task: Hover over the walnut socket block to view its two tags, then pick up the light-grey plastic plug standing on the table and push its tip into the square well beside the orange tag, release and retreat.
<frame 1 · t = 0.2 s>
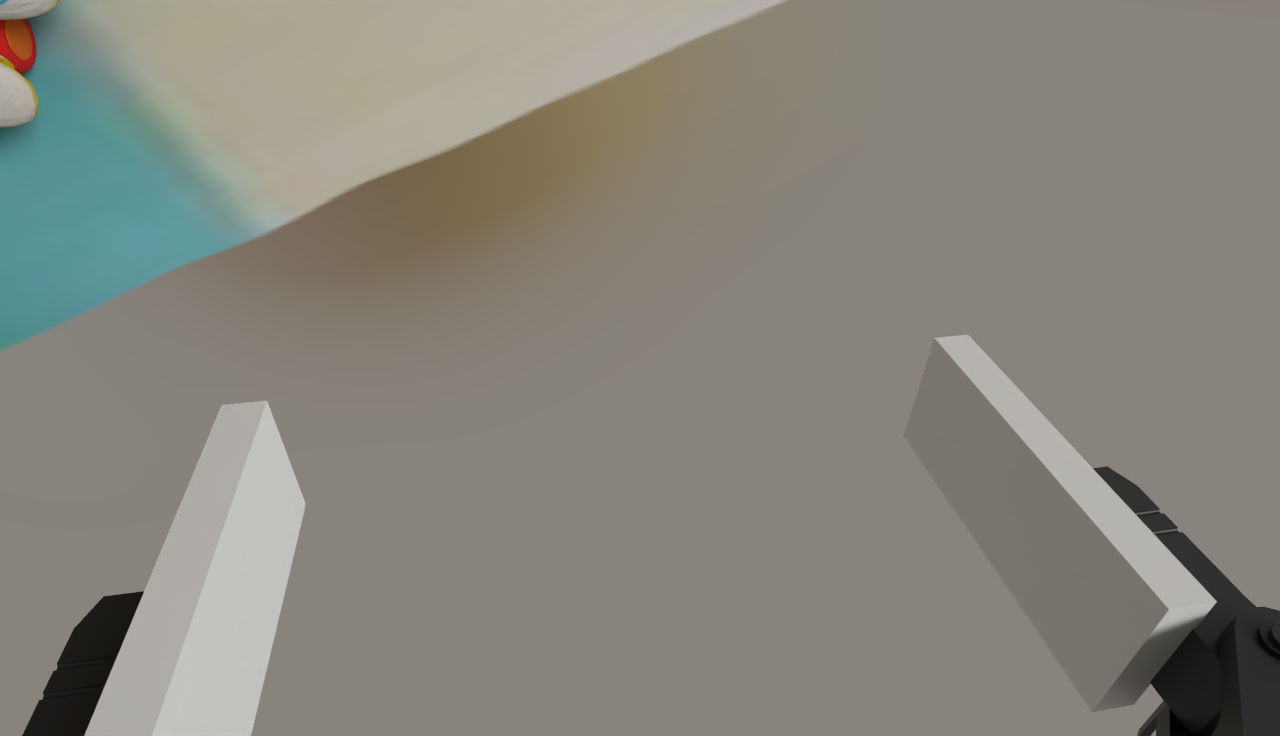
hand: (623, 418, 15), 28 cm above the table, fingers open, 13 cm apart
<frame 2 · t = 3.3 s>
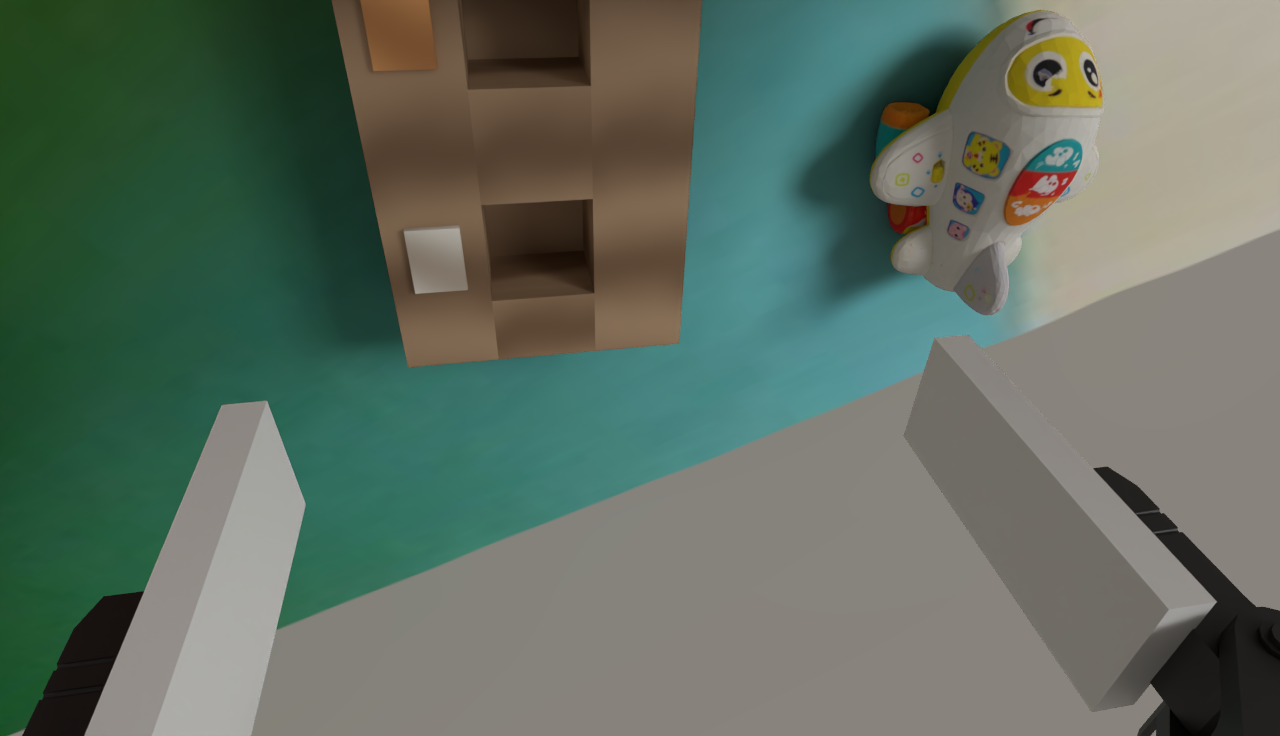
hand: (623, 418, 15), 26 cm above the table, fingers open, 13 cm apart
socket block: (525, 103, 36), on the table
toy airplane: (954, 139, 42), on the table
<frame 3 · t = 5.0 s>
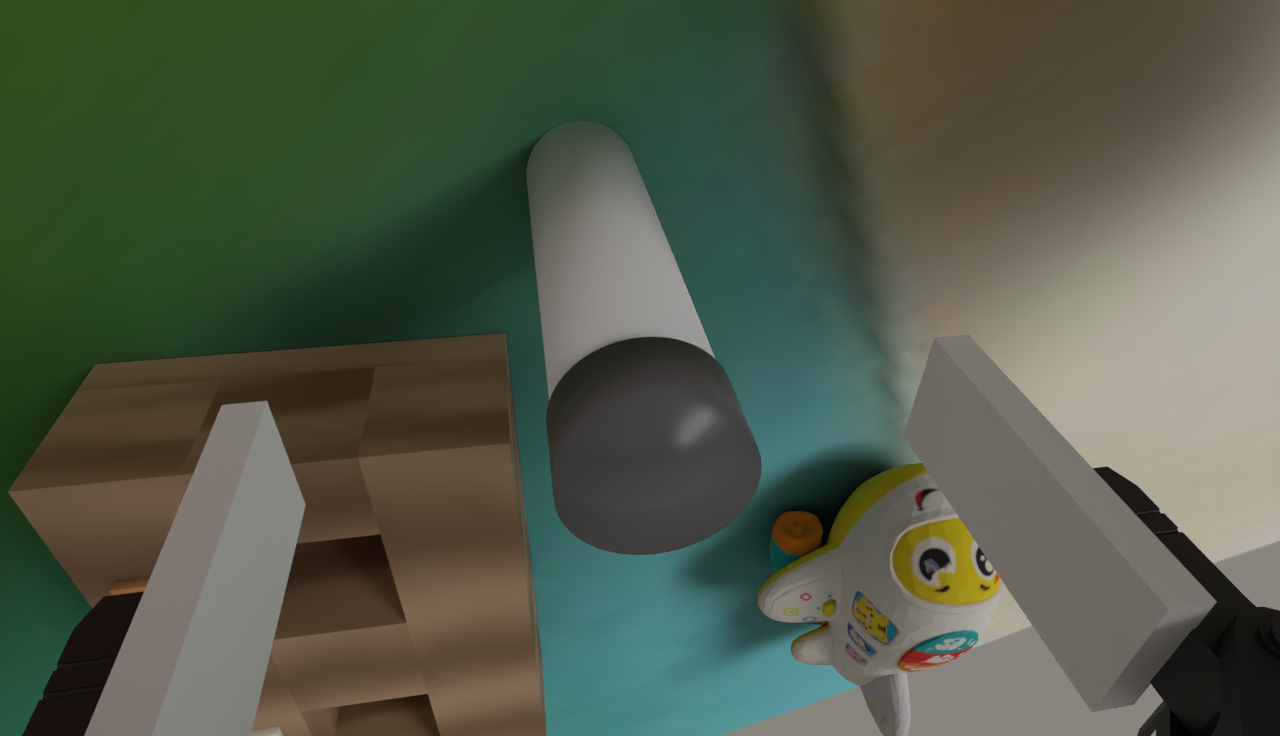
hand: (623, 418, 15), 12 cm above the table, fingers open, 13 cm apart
socket block: (370, 546, 33), on the table
toy airplane: (861, 523, 39), on the table
plug: (581, 175, 24), on the table
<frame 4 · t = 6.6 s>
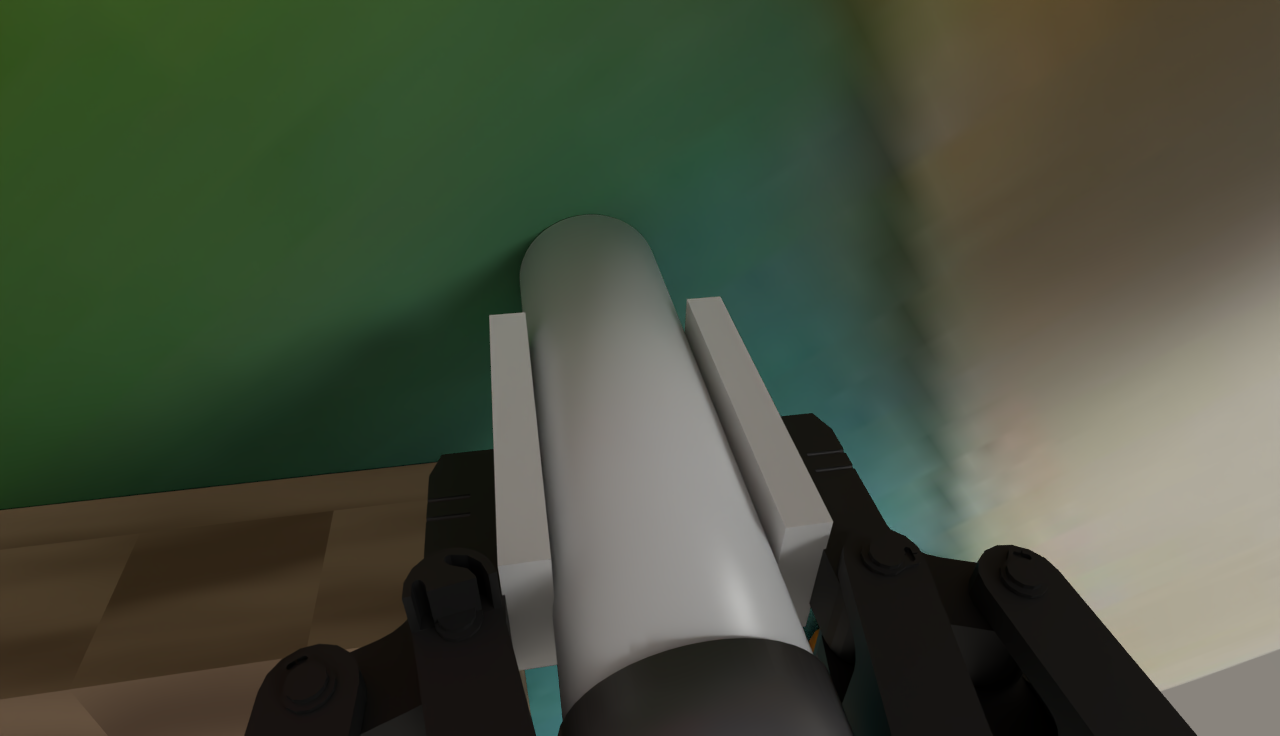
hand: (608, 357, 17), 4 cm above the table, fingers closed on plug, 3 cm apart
socket block: (337, 685, 28), on the table
plug: (588, 277, 19), on the table, touching gripper
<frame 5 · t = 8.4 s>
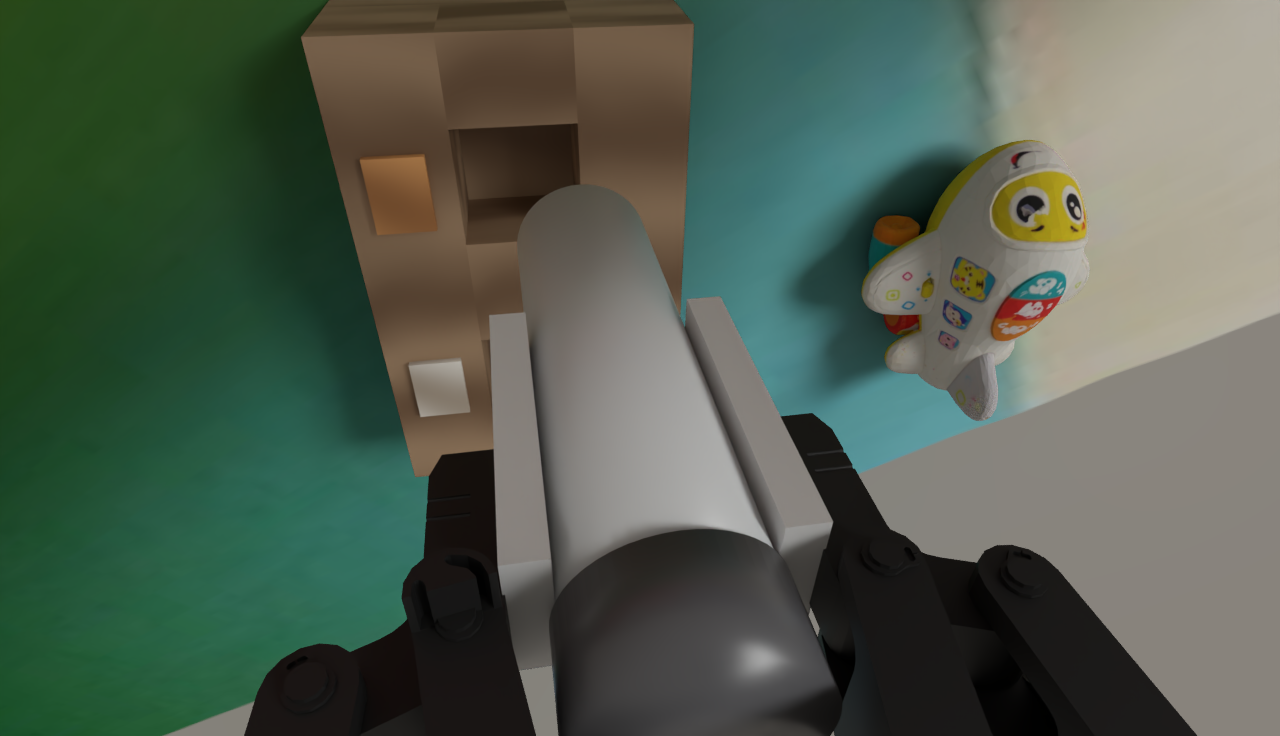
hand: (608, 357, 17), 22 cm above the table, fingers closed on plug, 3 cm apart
socket block: (525, 229, 38), on the table
toy airplane: (947, 243, 43), on the table
plug: (582, 245, 21), point 16 cm above the table, touching gripper
when the fingers open (8 cm above the table, at t = 10.6 s): plug drops 2 cm, resting on socket block.
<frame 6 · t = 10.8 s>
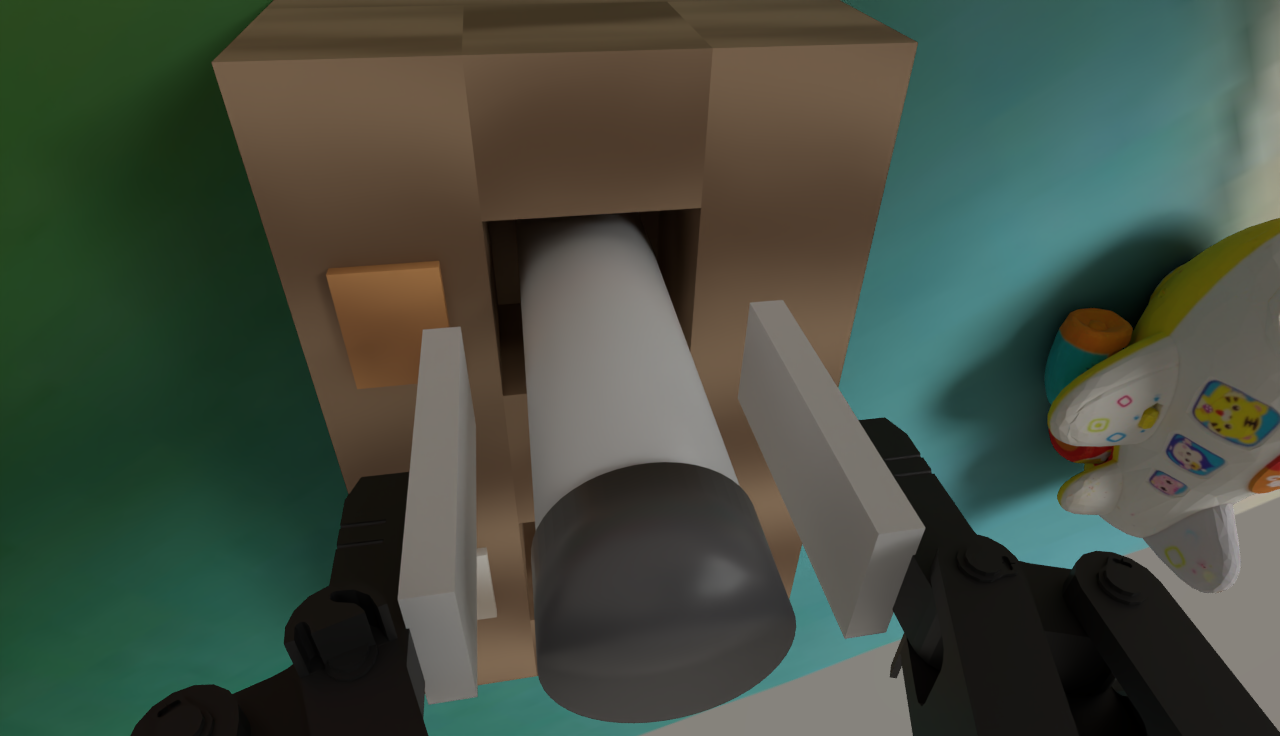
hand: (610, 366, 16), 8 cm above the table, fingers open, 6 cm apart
socket block: (576, 336, 26), on the table
toy airplane: (1143, 339, 32), on the table
plug: (578, 225, 22), point 2 cm above the table, touching socket block
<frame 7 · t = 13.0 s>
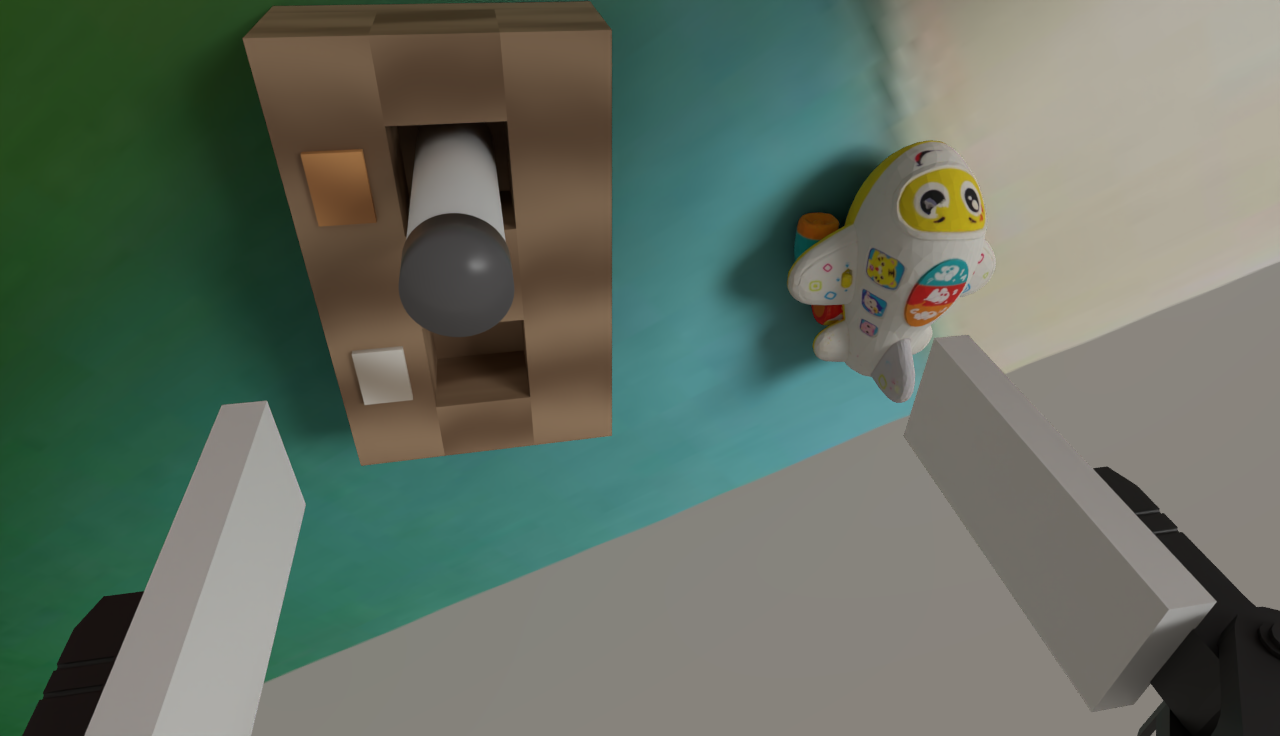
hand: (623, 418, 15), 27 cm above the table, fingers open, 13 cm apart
socket block: (465, 226, 40), on the table
toy airplane: (868, 239, 46), on the table
plug: (455, 144, 36), point 2 cm above the table, touching socket block
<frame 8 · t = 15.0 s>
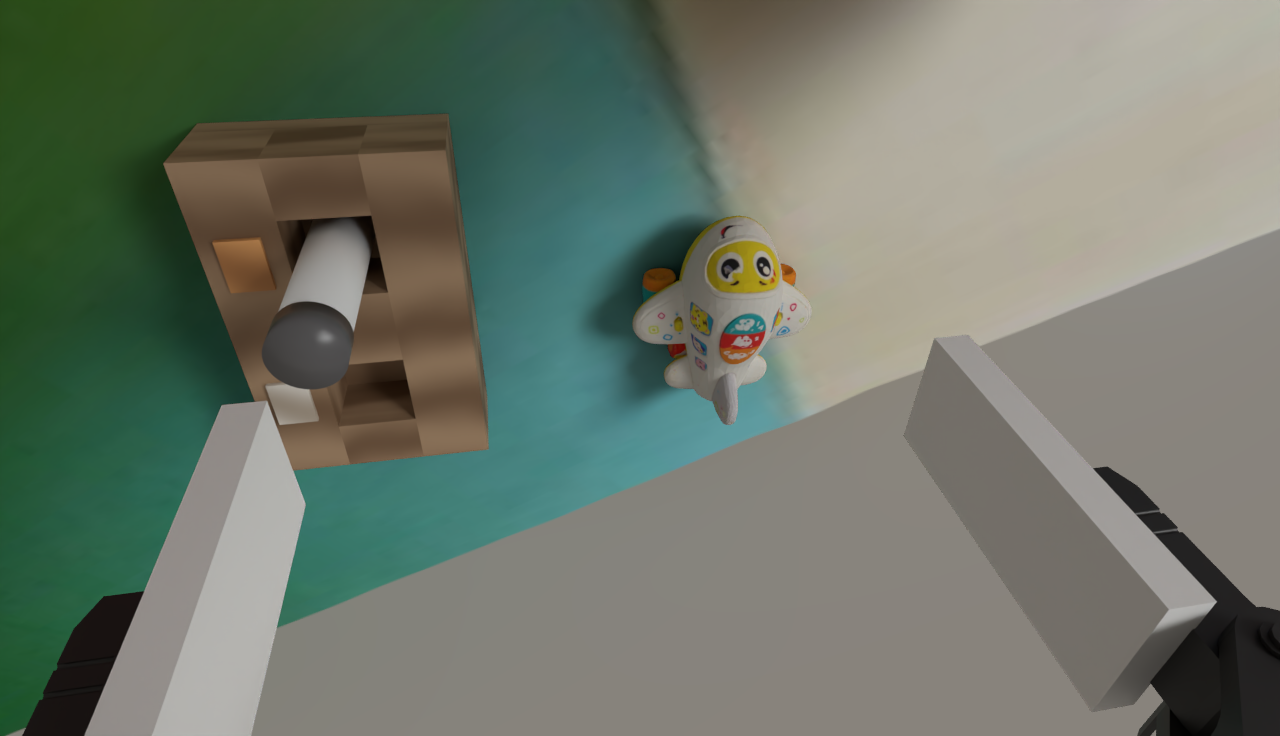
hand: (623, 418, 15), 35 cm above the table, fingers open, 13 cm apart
socket block: (364, 281, 50), on the table
toy airplane: (711, 287, 56), on the table
plug: (346, 222, 46), point 2 cm above the table, touching socket block
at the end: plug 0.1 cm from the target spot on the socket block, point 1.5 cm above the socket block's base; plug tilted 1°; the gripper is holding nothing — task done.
